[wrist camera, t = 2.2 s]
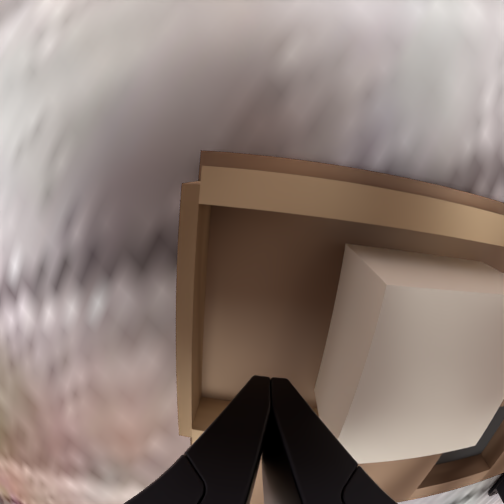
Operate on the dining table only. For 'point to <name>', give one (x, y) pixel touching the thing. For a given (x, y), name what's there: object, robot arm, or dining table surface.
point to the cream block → (412, 354)
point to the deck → (319, 305)
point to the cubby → (295, 202)
